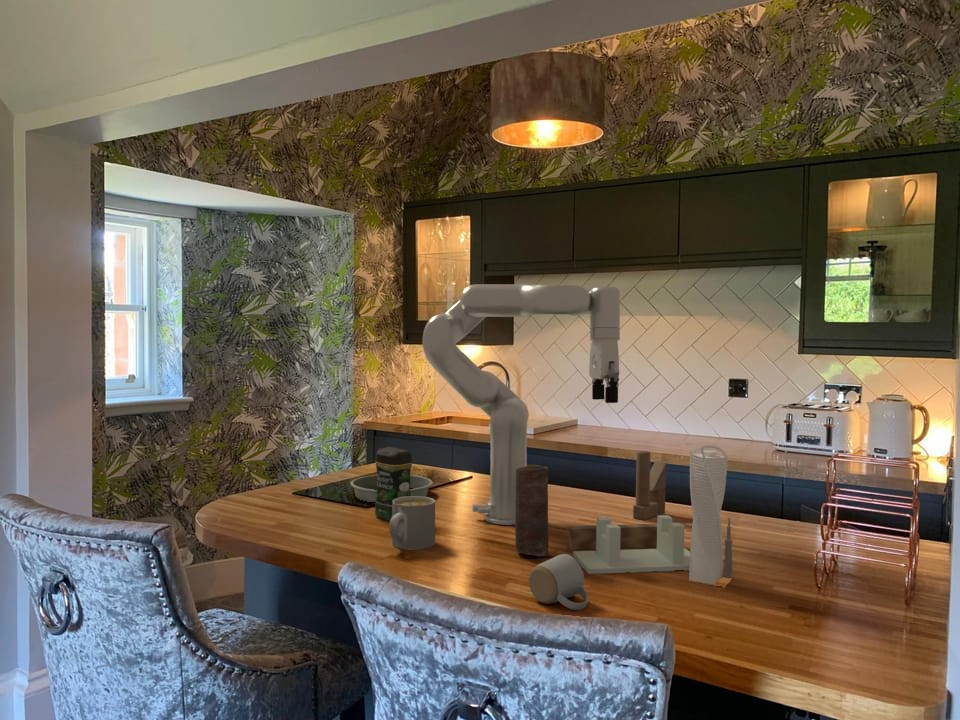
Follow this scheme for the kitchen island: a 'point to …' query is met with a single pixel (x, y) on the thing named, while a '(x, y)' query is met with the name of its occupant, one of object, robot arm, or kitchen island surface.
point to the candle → (532, 510)
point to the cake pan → (369, 483)
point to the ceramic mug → (558, 581)
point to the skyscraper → (708, 517)
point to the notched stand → (636, 550)
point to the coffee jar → (391, 479)
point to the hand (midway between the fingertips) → (604, 401)
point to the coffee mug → (413, 522)
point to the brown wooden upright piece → (649, 487)
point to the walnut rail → (628, 537)
